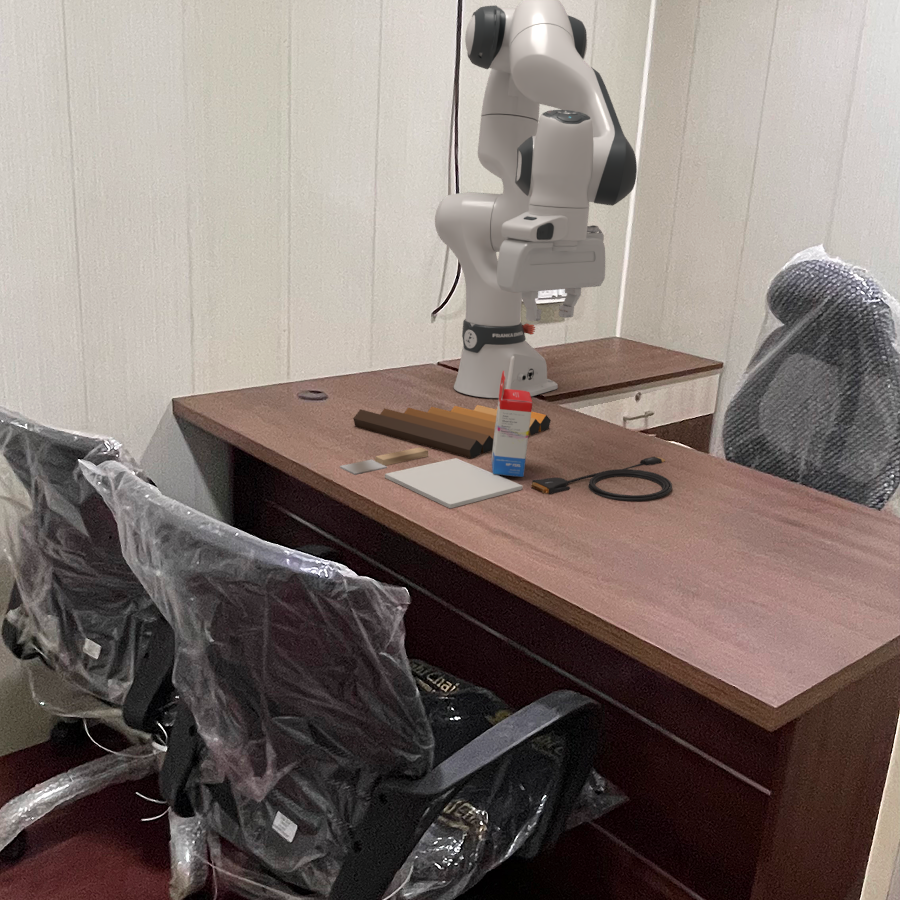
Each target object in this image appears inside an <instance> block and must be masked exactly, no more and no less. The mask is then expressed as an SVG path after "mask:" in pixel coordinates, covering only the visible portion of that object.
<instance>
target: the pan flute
mask: <svg viewBox="0 0 900 900" xmlns="http://www.w3.org/2000/svg"><path fill="white" fill-rule="evenodd" d="M496 416H497V407H496V408H492V407H487V406H484V405H480V404H477V405H476V406H475V407H474V409H470V408H465V407H461V406H458V405H454V406H453V407H452V409H451V410H446V409H442V408H439V407H436V406H435V407H434V406H431V407H430V408H429V409H428V411H423V410H419V409H416V408H413V407H412V408H411V407H407V409H406V410H405V411H404V412H399V411H397V410H393V409H388V408H384V409H383V410H381V412H380V413H376V412H372V411H369V410H365V409H359V410H358V411H357V413H356V414H355V415H354V417H353V418H352V419H353V424H354V427H357V428H360V429H363V430H367V431H370V432H374V433H378V434H382V435H385V436H388V437H392V438H395V439H400V440H402V441H407V442H410V443H414V444H418V445H421V446H425V447H429V448H431V447H432V448H433V449H436V450H438V449H439V451H442V452H446V453H450V454H453V455H457V456H460V457H464V458H468V459H474V458H476V457H478V456H481V454H486V453H489V452H492V449H493V440H494V432H495V423H496ZM550 425H551V419H550V417H549V416H548V415H547V414H543V413H538V412H535V411H531V418H530V426H529V434H528V437H530V436H534V435H537V434H539V432H541V433H542V432H544V431H546V430H550Z"/></svg>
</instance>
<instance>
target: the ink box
mask: <svg viewBox="0 0 900 900" xmlns="http://www.w3.org/2000/svg"><path fill="white" fill-rule="evenodd" d="M505 383H506V378H505V373H504V370H503V372H502V377H501V383H500V391H499V398H497V407H496V408H497V416H496V423H495V432H494V440H493V449H492V451H491V468H492V473H493V474H496V475H498V476H500V475H501V476H508V477H509V476H510V477H521V478H523V477H524V475H525V468H526V459H527V449H528V441H529V435H528V434H529V426H530V418H531V412H533V411H532V410H533V400H532V396H530V393H529V392H527V391H522V390H513V389H505Z"/></svg>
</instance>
